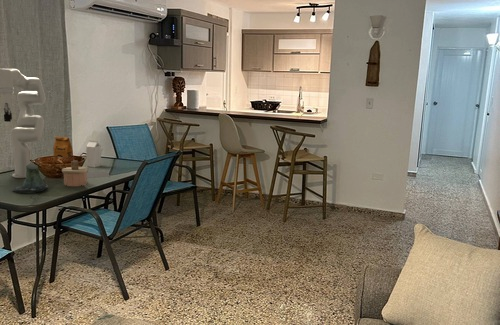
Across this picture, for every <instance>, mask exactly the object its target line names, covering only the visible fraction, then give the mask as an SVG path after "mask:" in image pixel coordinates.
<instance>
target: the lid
mask: <svg viewBox="0 0 500 325" xmlns="http://www.w3.org/2000/svg"><path fill="white" fill-rule="evenodd" d="M61 172H62V173H63V174H64V173H67V174H79V173H85V172H89V167H87V166H79V160H75V159H74V160H73V161H71V167H66V168H61Z"/></svg>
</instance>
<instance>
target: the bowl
mask: <svg viewBox="0 0 500 325" xmlns="http://www.w3.org/2000/svg"><path fill="white" fill-rule="evenodd" d="M87 172H88V171H87ZM87 172H85V173H79V174H67V173H63V184H64V186H66V185H67V186H66V187H81V185H82V186H85V185H87V183H88V178H87Z"/></svg>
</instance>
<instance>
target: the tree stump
mask: <svg viewBox="0 0 500 325" xmlns="http://www.w3.org/2000/svg"><path fill="white" fill-rule="evenodd" d="M48 187H49V184H47V183H46V182H44V180H43V179H42V178H41V174H40V169H39V166H38V165H37V164H34V163H31V164H29V165H27V166H26V178H25V180H24V181H23V183H22V185H18V186H15V187H13V188H12V191H13V192H14V193H19V194H34V192H35V193H41V192H42V191H45V190H47V188H48ZM44 189H45V190H44ZM40 191H41V192H40Z"/></svg>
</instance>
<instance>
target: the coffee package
mask: <svg viewBox="0 0 500 325" xmlns="http://www.w3.org/2000/svg"><path fill="white" fill-rule="evenodd" d="M54 139H55V141H54V145H53V150H52V151H53V157H54V156H60V157H69V156H73V157H74V151H73V146H72V143H71V140H70V137H63V136H55V137H54Z"/></svg>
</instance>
